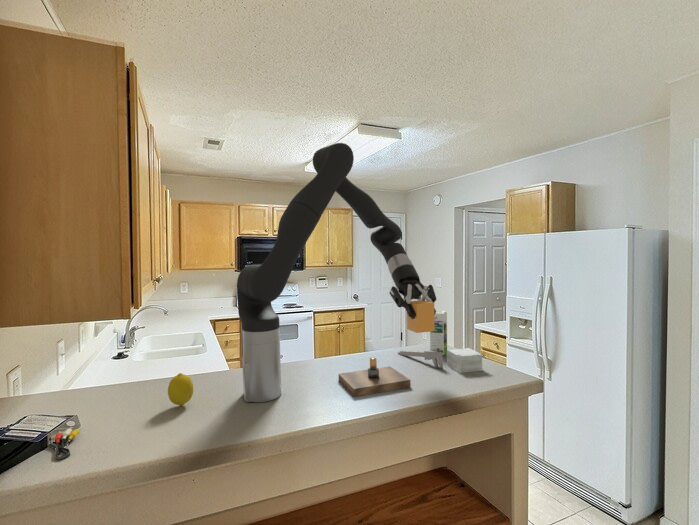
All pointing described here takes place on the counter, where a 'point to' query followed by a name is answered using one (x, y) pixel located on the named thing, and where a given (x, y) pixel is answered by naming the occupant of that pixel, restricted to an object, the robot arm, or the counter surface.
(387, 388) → the board
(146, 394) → the counter surface
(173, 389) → the lemon
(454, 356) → the small box
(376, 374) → the grey and tan knob
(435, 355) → the caliper
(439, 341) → the syrup box
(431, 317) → the orange rectangular block
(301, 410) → the counter surface
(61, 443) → the composite cable
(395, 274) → the robot arm
